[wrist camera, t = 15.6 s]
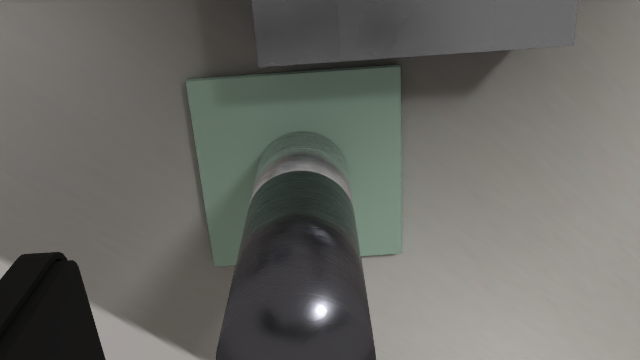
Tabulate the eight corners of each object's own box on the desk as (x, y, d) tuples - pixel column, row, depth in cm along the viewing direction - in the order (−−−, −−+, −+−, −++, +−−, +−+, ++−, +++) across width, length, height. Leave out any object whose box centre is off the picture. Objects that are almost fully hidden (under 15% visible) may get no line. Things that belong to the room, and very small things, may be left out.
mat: (399, 64, 22) (400, 66, 22) (400, 248, 25) (401, 253, 25) (187, 78, 22) (185, 81, 22) (215, 261, 25) (214, 266, 25)
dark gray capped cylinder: (350, 211, 24) (378, 418, 14) (262, 217, 24) (226, 427, 14) (345, 128, 23) (373, 290, 13) (252, 134, 23) (205, 301, 13)
